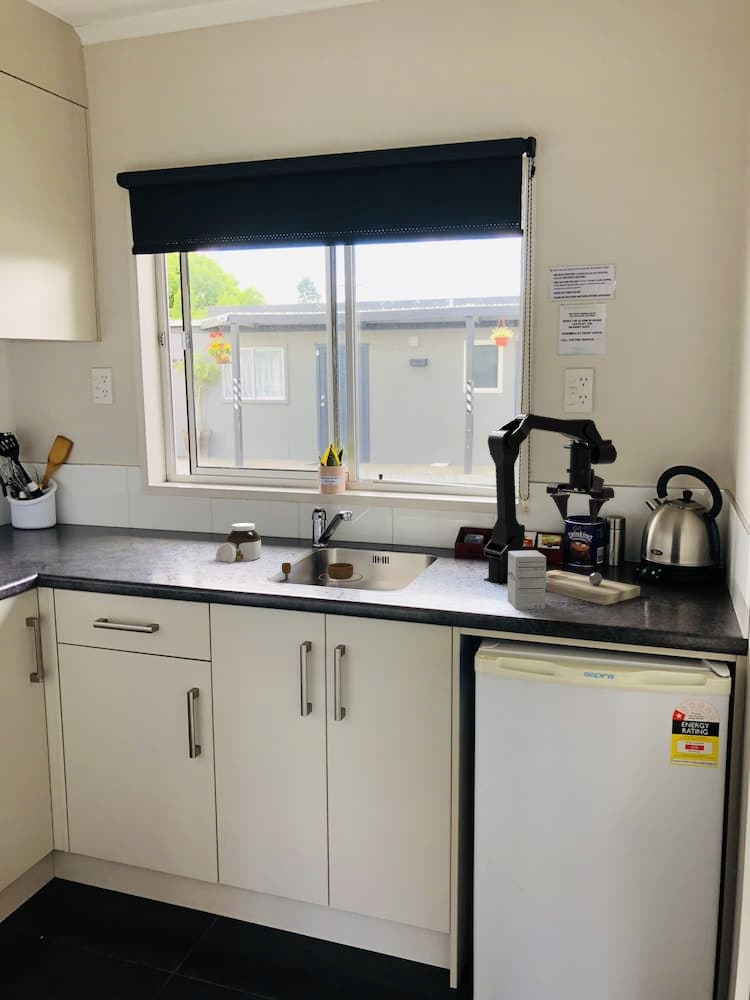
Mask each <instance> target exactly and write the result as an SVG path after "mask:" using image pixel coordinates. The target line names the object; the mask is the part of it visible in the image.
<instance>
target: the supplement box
mask: <svg viewBox="0 0 750 1000" xmlns="http://www.w3.org/2000/svg"><path fill="white" fill-rule="evenodd" d="M546 572H547V556H546V555H544V554H543V553H541V552H539V551H538V550H534V549H533V550H521V551H508V583H507V602H508V603H509V604H510V605H511V606H512V607H513V608H514V609H515V610H526V609H527V610H528V609H531V610H532V609H535V610H536V609H546V591H545V588H546Z"/></svg>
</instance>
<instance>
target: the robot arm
mask: <svg viewBox="0 0 750 1000" xmlns="http://www.w3.org/2000/svg"><path fill="white" fill-rule="evenodd" d="M532 430H534V431H535V430H536V431H542V432H548V433H556V434H559V435H561V436H563V437H565V438H568V439H569V440H568V442H567V443H565V444H564V445H563V446H562V448H563V449H568V450H569V468H566V473H568V474H569V475H568V476H569V477H568V482H558V481H557V482H551V483H547V486H546V487H545V493H546V494H549V497H550V498H552V500H553V502H554V504H555V505H556V507H557V510H558V511H559V514H560V516H561V519H562V520H563V521H566V520H567V518H568V505H569V504H568V501H569V498H570V496H571V494H575V495H576V494H577V495H587V496H589V497H590V498H589V499H588V507H589V509H588V511H589V521H590V524H591V525H595V523H596V521H597V518H598V515H599V513H600V511H601V509H602V507H603V505H604V504H606V502H610V500H611V499H615V490H614V488H613V487H609V486H604V483H605V479H604V478H602V477H601V476H598V475H595V469H594V468H592V465H593V466H595V465H612V464H613V463H615V462H616V459H617V458H618V451H617V449H616V447H615V445H614V444H613V440H612V439H603V437H602V436H601V434H600V432H599V431H598V428H597V425H596V423H595V421H594V420H593V419H589V418H587V419H586V418H567V419H566V418H565V419H561V418H555V417H549V416H545V415H537V414H533V413H527V412H522V413H519V414H517V415H516V416H515V417H514V418H513V419H511V420H510V421H508V422H506V423H504V424H503V425H501V426H500V427H499V428H498V429H496V430H493V431H491V433H490V434H489V435H488V438H487V445H488V446H487V447H488V450H489V455H490V457H491V459H492V461H493V463H494V465H495V486H496V487H495V488H496V512H497V513H496V515H497V516H496V517H497V518H496V521H495V523H494V525H493V527H492V535H491V536H492V537H491V539H490V540H489V541H488V542H487V543H486V545H485V546H484V548H483V549H482V551H483V554H484V556H485V557H488V569H487V570H488V574H487V575H488V577H486V578H484V579H483V581H485V582H488V583H493V584H497V585H506V584H507V585H508V551H522V549H523V548H524V544H525V541H526V539H527V538H526V533H525V532H526V526H525V525H524V524H522V523H519V521H518V519H517V505H516V504H517V503H516V476H515V475H516V474H515V473H516V470H515V465H516V461H517V459H518V457H519V455H520V449H521V444H522V443H523V442H524V441H526V440H527V438H528V436H529V434H530V432H531V431H532Z"/></svg>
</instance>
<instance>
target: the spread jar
mask: <svg viewBox="0 0 750 1000" xmlns="http://www.w3.org/2000/svg"><path fill="white" fill-rule="evenodd" d="M255 526H256V525H255V523H251V522H239V523H232V524H231V531H230V533H229V534H228V535H227V537H226V540H225V543H222V544H220V546H218V548H217V551H216V555H215V561H217V562H218V561H221V562H222V561H224V562H228V564H232V563H234V562H235V561H236V560H238V562H239V561H240V562H241V561H242V562H252V561H256V560H257V561H258V560H259V559H260V558H261V556H262V555H261V554H262V540H261V535H260V534H259V533H258V532H257V531H256V529H255V528H256V527H255Z"/></svg>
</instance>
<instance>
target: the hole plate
mask: <svg viewBox="0 0 750 1000" xmlns="http://www.w3.org/2000/svg"><path fill="white" fill-rule="evenodd" d="M589 576H590V575H589ZM589 576H588V575H583V574H580V573H579V574H578V573H573V572H568V571H563V570H560V569H558V570H557V569H554V570H548V571H546V588H545V592H546V591H547V592H551V593H554V594H558V595H562V596H566V597H571V598H575V599H578V600H583V601H587V602H589V603H590V602H591V603H594V604H599V605H603V606H607V605H611V604H612V605H613V604H614V603H619V602H622V601H625V600H629V599H632V598H633V599H634V598H637V597H640V596H641V586H640V585H634V584H630V583H629V584H628V583H623V582H618V581H613V580H609V579H605V578H602V582H601V584H599V585H592V584H591V583H590V581H589ZM636 596H637V597H636Z"/></svg>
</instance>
